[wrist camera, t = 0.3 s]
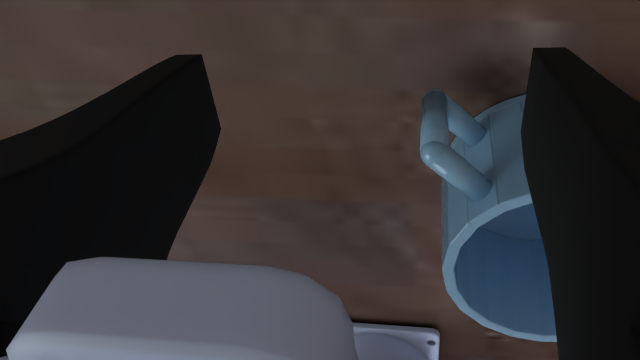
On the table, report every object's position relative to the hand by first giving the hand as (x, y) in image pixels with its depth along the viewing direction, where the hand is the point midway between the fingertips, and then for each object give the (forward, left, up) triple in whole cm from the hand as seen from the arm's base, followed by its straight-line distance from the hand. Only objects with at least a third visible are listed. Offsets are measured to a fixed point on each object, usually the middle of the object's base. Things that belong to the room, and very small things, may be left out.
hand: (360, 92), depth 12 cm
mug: (-9, -5, -10) cm, 15 cm away
